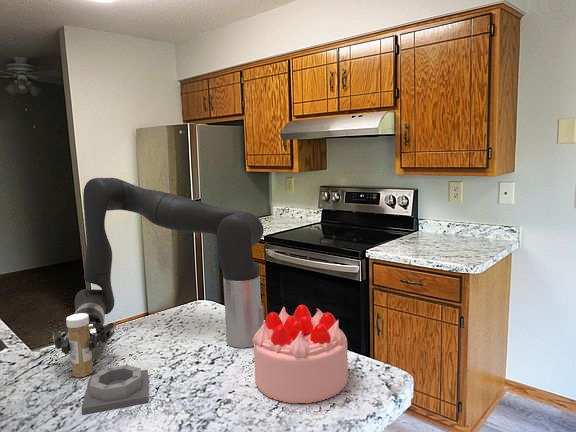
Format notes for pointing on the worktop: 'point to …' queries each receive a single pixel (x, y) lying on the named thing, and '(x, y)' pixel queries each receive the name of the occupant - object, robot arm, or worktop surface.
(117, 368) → the barrel socket
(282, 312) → the cake
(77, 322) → the sprinkles bottle
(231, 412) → the worktop surface
